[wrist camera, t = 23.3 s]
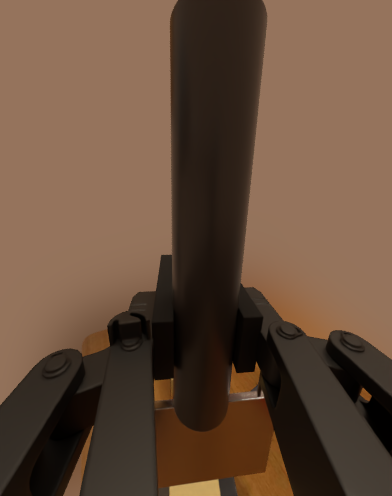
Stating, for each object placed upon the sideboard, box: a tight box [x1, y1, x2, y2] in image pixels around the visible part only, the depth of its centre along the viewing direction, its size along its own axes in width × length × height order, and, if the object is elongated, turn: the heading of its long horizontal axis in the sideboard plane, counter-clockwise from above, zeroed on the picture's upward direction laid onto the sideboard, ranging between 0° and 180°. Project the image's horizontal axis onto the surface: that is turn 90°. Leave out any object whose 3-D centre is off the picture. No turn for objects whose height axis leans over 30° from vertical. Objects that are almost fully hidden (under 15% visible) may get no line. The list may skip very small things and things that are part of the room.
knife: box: [154, 0, 274, 488], centre depth 8 cm, size 8×3×20 cm, turn 97°
